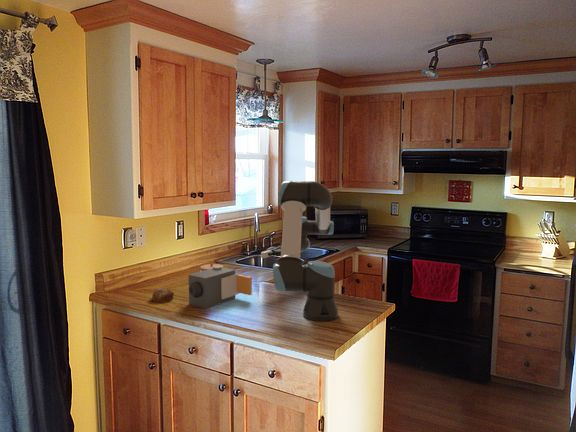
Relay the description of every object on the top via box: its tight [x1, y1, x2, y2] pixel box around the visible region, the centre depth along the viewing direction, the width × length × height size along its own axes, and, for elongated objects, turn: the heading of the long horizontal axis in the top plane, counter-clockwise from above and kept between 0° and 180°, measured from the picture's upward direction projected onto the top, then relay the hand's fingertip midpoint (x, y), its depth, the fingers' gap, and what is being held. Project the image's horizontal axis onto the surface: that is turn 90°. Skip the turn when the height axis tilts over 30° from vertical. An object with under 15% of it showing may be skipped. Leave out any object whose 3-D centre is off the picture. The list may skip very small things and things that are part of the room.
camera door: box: [221, 273, 253, 299], centre depth 230 cm, size 9×12×10 cm
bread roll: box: [151, 286, 175, 303], centre depth 235 cm, size 10×10×8 cm
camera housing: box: [187, 266, 236, 309], centre depth 231 cm, size 11×22×15 cm, turn 145°
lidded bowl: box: [199, 262, 224, 272], centre depth 265 cm, size 13×13×11 cm
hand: (262, 255), depth 241 cm, fingers closed
